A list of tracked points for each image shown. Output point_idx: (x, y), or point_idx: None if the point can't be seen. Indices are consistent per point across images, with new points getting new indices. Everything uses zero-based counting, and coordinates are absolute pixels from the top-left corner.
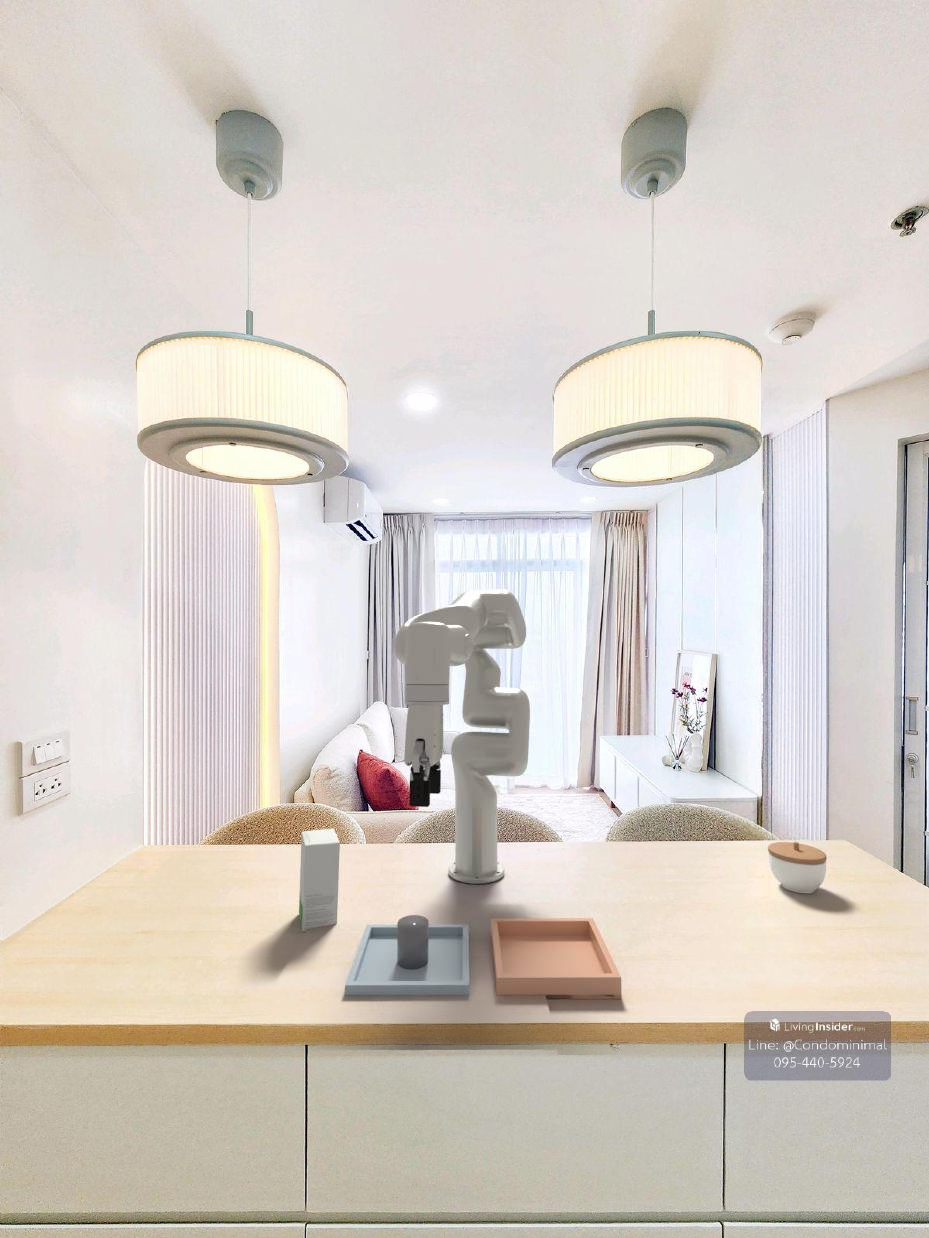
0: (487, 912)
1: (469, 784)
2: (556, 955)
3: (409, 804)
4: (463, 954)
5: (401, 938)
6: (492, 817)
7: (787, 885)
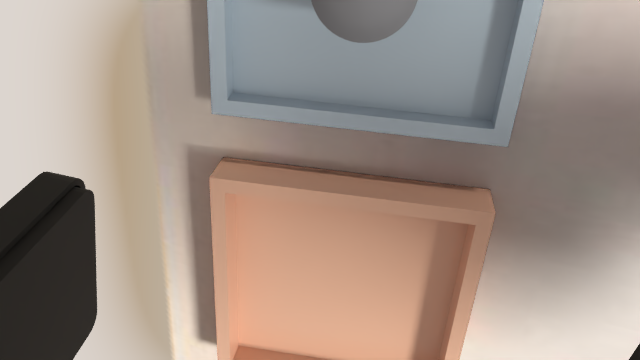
0: (634, 202)
1: None
2: (360, 299)
3: (44, 172)
4: (342, 114)
5: None
6: None
7: None
